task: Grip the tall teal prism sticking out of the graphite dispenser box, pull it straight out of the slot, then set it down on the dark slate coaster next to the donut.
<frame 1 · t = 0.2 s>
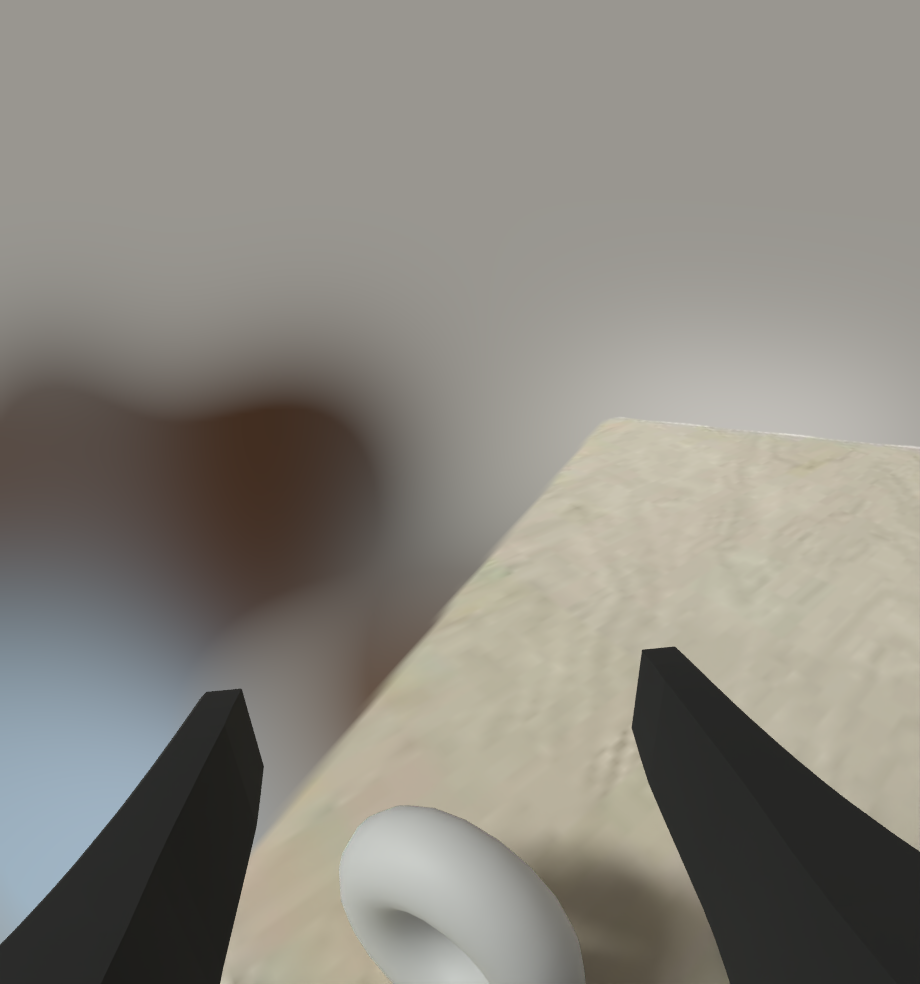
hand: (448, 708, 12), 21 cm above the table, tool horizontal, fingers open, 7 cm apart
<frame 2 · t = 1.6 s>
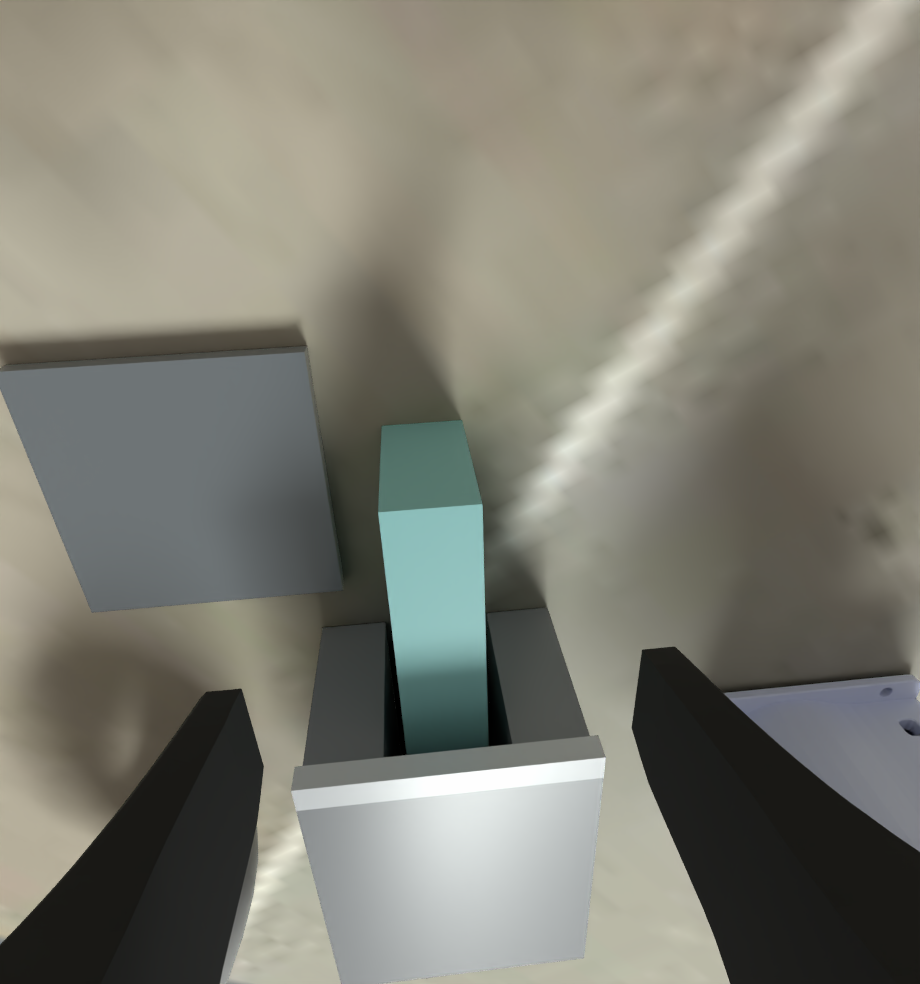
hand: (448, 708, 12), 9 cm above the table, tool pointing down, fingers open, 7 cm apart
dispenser: (442, 698, 25), on the table
donut: (199, 804, 27), on the table
coaster: (194, 484, 19), on the table
tall teal prism: (432, 569, 22), on the table
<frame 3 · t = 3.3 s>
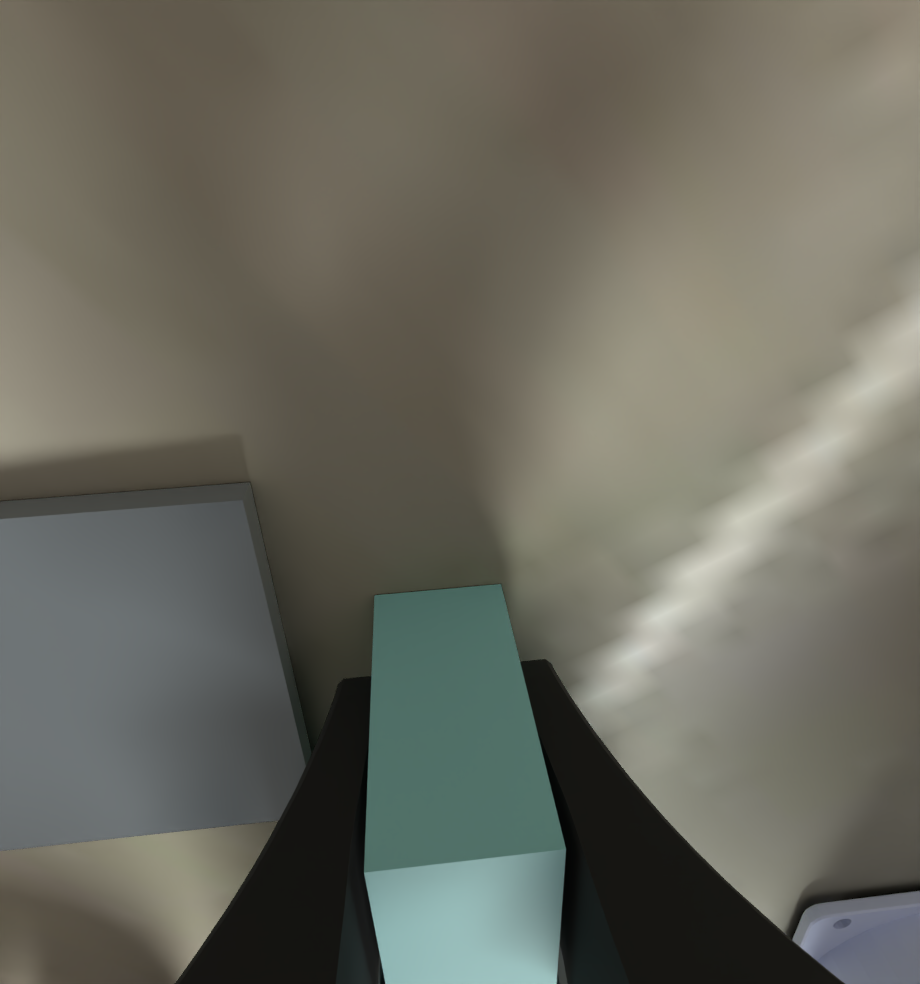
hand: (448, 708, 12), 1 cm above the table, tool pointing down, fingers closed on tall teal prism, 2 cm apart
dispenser: (461, 919, 18), on the table
coaster: (80, 680, 12), on the table
tall teal prism: (451, 779, 15), on the table, touching gripper
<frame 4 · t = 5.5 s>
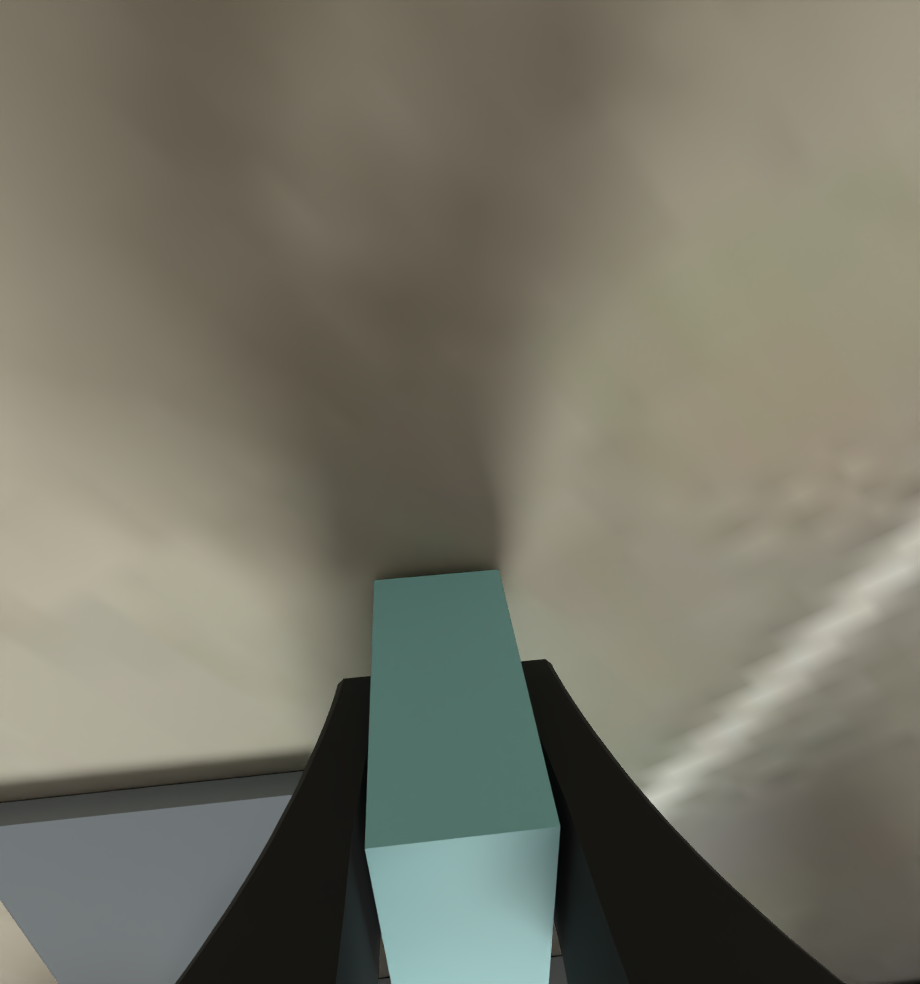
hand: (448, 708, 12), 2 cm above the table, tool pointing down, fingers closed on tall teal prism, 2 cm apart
coaster: (190, 885, 17), on the table
tall teal prism: (449, 759, 15), on the table, touching gripper
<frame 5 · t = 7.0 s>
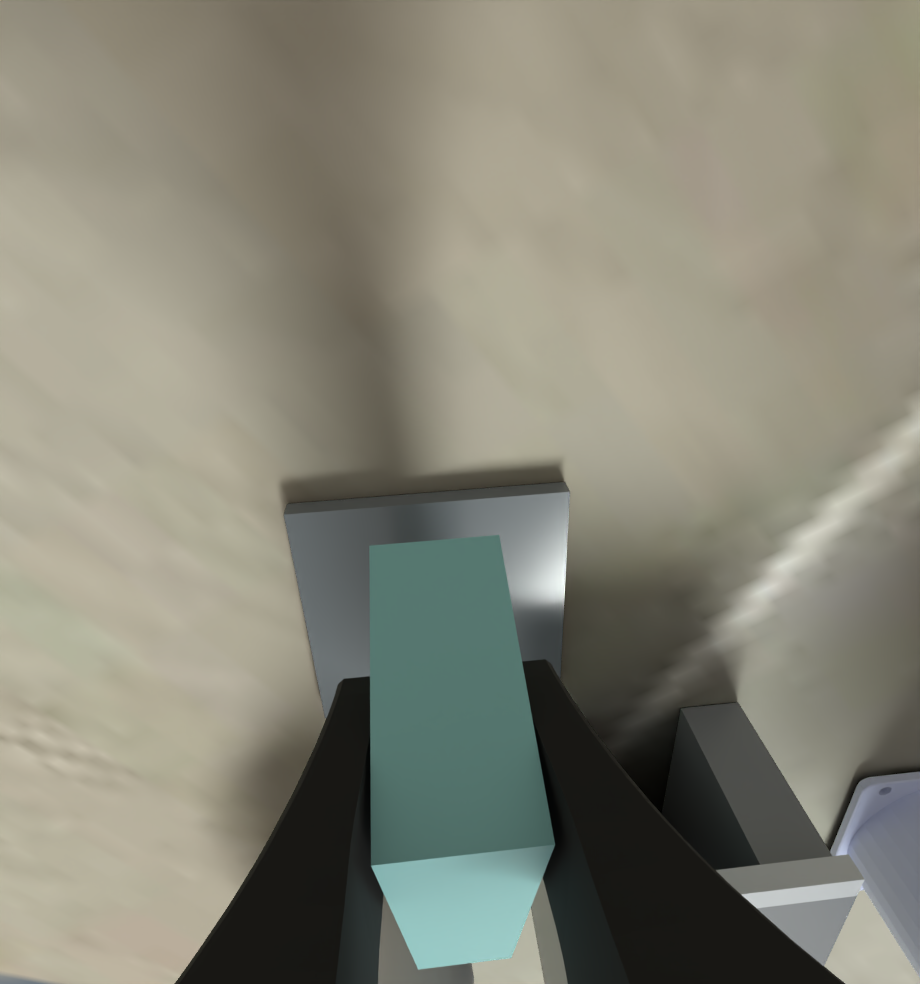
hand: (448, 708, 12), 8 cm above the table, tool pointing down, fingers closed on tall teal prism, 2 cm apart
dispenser: (624, 783, 26), on the table
donut: (377, 879, 28), on the table
coaster: (435, 602, 20), on the table
tall teal prism: (442, 677, 16), point 4 cm above the table, tilted 18°, touching gripper
when the fingers open (3 cm above the table, at t = 8.0 s): tall teal prism stays where it is, resting on coaster.
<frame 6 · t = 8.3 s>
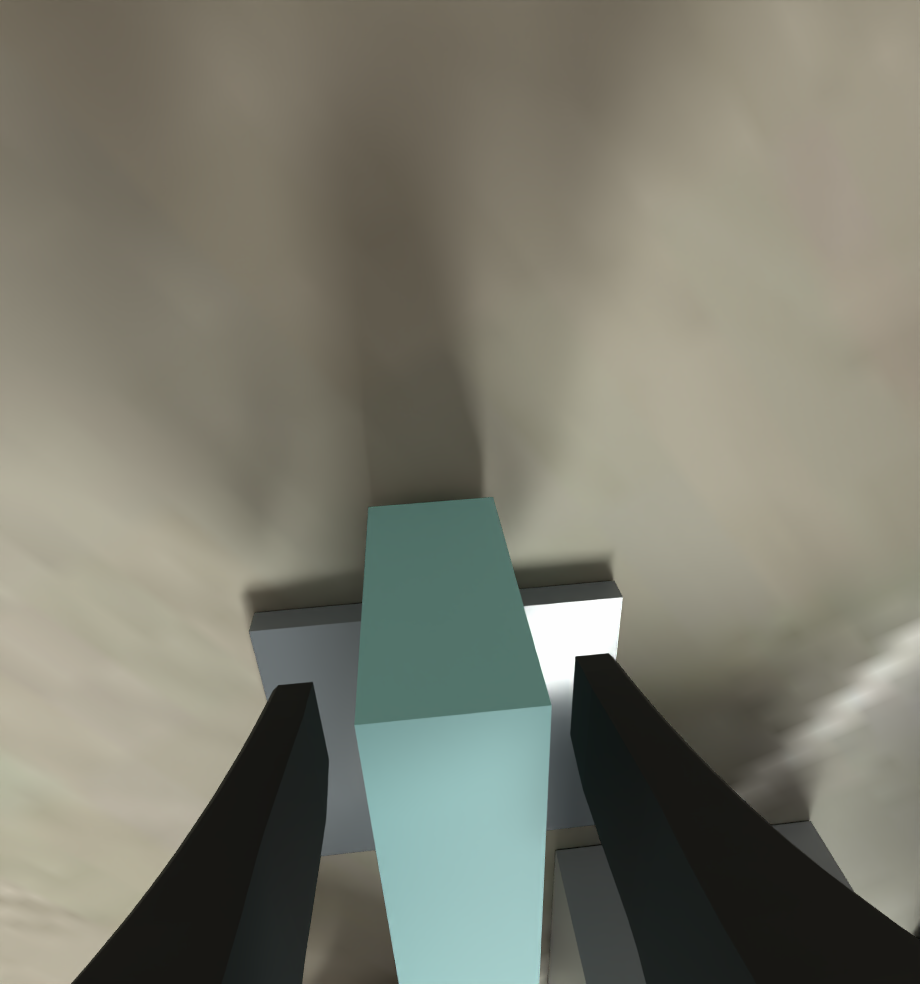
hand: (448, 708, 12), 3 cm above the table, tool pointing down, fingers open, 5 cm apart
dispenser: (668, 908, 21), on the table
coaster: (446, 722, 16), on the table
tall teal prism: (445, 704, 15), point 1 cm above the table, touching coaster
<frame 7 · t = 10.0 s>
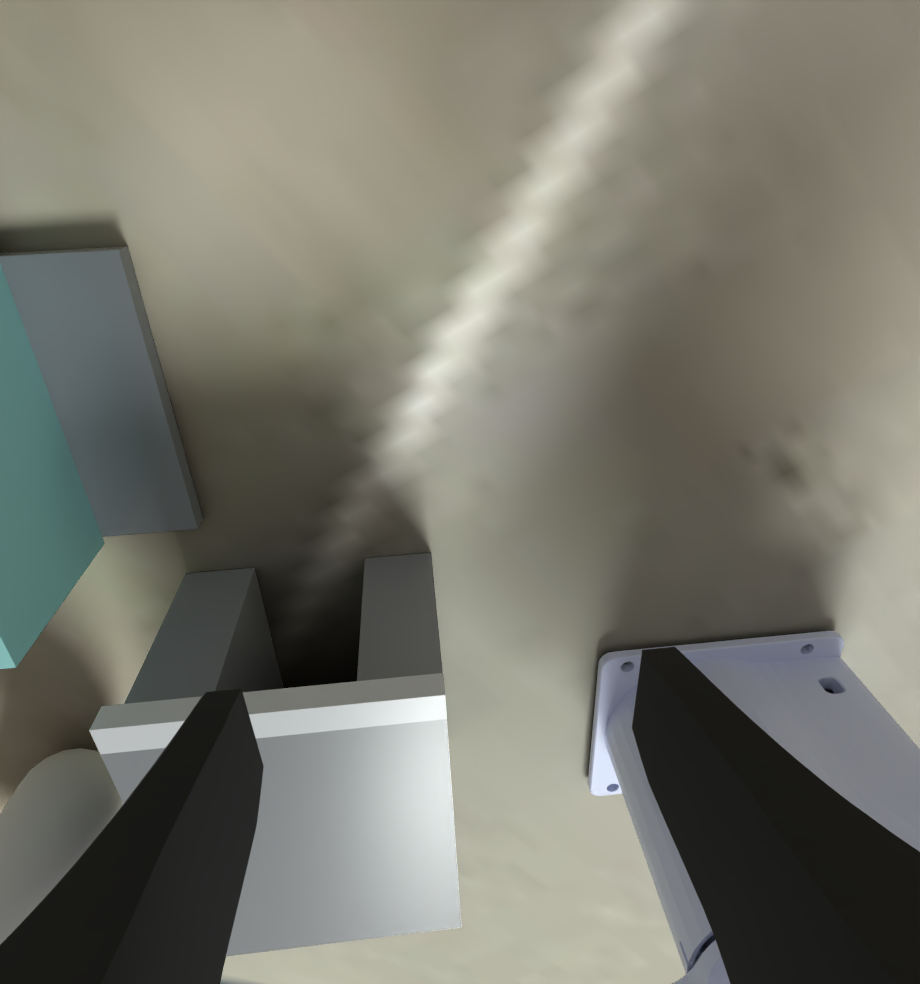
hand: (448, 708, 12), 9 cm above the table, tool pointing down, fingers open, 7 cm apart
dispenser: (327, 653, 23), on the table
donut: (78, 770, 25), on the table
coaster: (21, 407, 18), on the table
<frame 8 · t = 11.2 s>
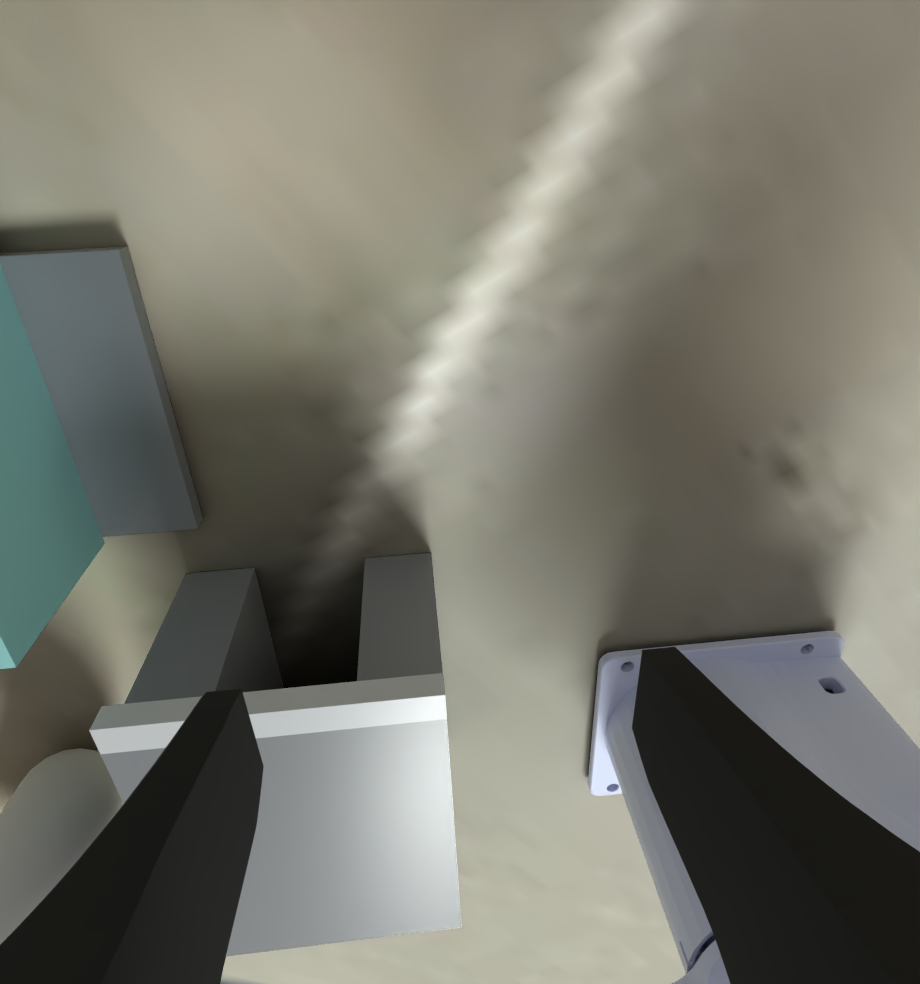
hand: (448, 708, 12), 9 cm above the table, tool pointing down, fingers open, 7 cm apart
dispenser: (327, 653, 23), on the table
donut: (78, 770, 25), on the table
coaster: (21, 407, 18), on the table
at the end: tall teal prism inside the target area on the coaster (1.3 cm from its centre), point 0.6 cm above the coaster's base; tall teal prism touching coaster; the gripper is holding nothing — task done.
